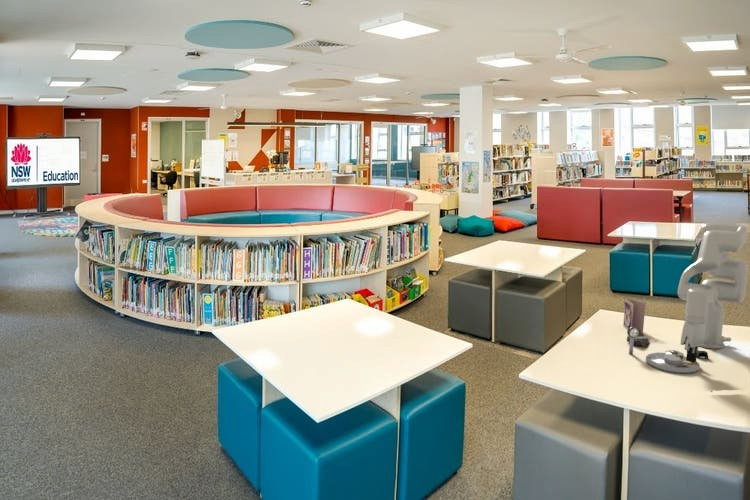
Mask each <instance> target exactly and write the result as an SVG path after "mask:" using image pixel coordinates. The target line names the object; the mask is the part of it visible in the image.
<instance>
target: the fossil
mask: <svg viewBox="0 0 750 500" xmlns="http://www.w3.org/2000/svg"><path fill="white" fill-rule="evenodd" d="M637 329H638V328H637ZM638 337H646V339H634V346H633V347H637V348H638V347H641V348H648V347H649V346H650V345H651V342H650V340H649V338H648V337H647V336H646V335H645V334H644V332H641V331H640V330H639V335H638ZM626 341H627V342H628V345H629V346H630V336H628V335H627V337H626Z"/></svg>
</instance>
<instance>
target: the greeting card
mask: <svg viewBox="0 0 750 500" xmlns="http://www.w3.org/2000/svg"><path fill="white" fill-rule="evenodd" d="M645 314H646V302H643V301H642V302H641V301H638V300H634V299H630V298H626V297H625V301H624V312H623V323H622V327H623V328H625V329H626V330H627V331H628V329H629V328H630V327H636V328H638V329H639V330H640V331H641V332H642V333H644V326H645V325H644V323H645Z"/></svg>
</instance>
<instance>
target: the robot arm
mask: <svg viewBox="0 0 750 500" xmlns="http://www.w3.org/2000/svg"><path fill="white" fill-rule="evenodd" d="M700 234H701V236H702V237H701V241H700V246H699V251H698V254H697V259H696V261H694V263H692V264H690V265H689V266H688V267H686V268H685V269H684V271H683V272H682V274H681V276H680V279H679V283H678V287H677V297H678V298H679V299H681V300H682V301H686V304H685V315H684V324H683V327H682V332H681V338H680V345H681V346H684V347H683V348H684V349H683V350H685V351H686V356H685V357H686V360H687V361H689V362H693V363H694V362H697V359H698V358H697V353H696V352H698V351H699V347H702V348H705V349H706V348H707V349H712V350H720V349H724V348H725V343H724V342H731V341H732V338H731V337H730V336H729V337H725V336H722V335H723V326H724V318H725V308H724V306H723V304H722V303H721V302H726V303H727V302H728V303H735V304H739V303H743V301H744V300H745V297H746V293H747V281H748V271H749V270H748V268H749V267H748V263H747V262H746V260H744V259H740V258H733V257H732V258H731V257H730V252H732V253H733V252H734V253H738V252H739V251H741V249H742V248H743V246H744V244H745V242H746V240H747V238H748V229H747V227H746V226H745V225H742V224H736V223H735V224H733V223H722V222H705V223H703V224H702V225H701V226H700ZM705 272H706V274H707V275H708V276H709V277H712V278H707V279H704V280H703V281H702V282H701V283H694V282H689V281H690V279H692V277H694V276H696V275H698V274H701V273H705ZM716 278H717V279H716ZM724 279H726V280H724ZM731 280H732V281H731Z"/></svg>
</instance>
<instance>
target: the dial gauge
mask: <svg viewBox="0 0 750 500" xmlns="http://www.w3.org/2000/svg"><path fill="white" fill-rule="evenodd" d="M626 333H627V336H630V345H629V349H628V355H634V347H635V346H634V339H646V337H647V336H645V337H638V335H639V329H637V328H636V327H630V328H629V329H628V330H627V331H626Z"/></svg>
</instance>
